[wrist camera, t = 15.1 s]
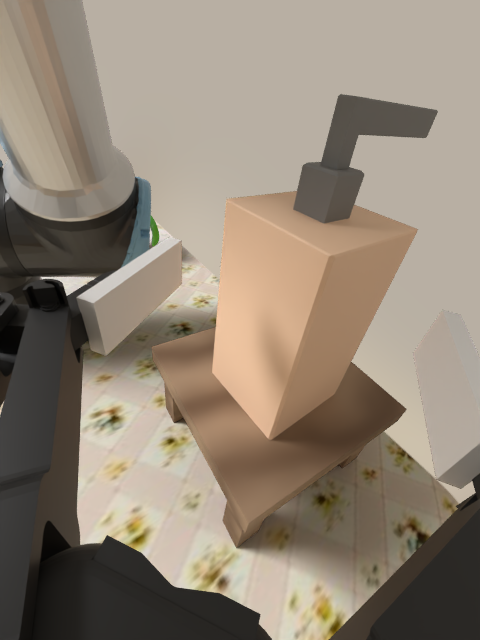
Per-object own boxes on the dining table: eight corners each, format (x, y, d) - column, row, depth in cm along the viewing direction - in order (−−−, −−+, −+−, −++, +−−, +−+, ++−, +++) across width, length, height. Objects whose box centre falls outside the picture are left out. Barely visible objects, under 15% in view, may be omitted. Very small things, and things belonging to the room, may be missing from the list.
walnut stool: (157, 404, 36) (151, 346, 30) (271, 358, 45) (285, 305, 39) (233, 563, 25) (248, 523, 19) (366, 460, 34) (406, 409, 27)
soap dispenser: (269, 441, 23) (387, 97, 10) (210, 371, 28) (234, 78, 15) (360, 375, 30) (504, 119, 17) (300, 328, 35) (372, 101, 21)
